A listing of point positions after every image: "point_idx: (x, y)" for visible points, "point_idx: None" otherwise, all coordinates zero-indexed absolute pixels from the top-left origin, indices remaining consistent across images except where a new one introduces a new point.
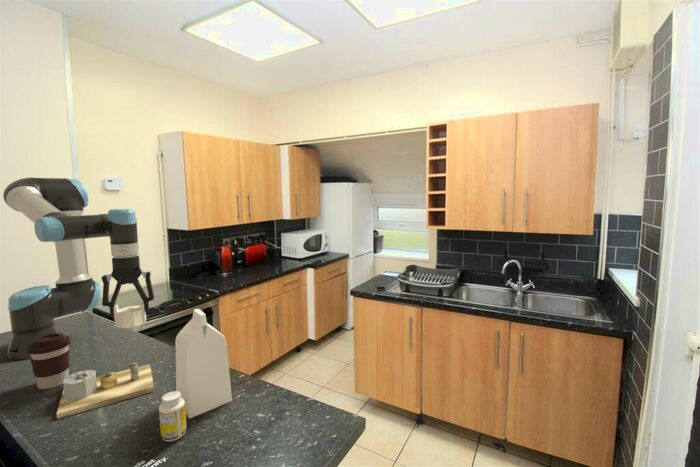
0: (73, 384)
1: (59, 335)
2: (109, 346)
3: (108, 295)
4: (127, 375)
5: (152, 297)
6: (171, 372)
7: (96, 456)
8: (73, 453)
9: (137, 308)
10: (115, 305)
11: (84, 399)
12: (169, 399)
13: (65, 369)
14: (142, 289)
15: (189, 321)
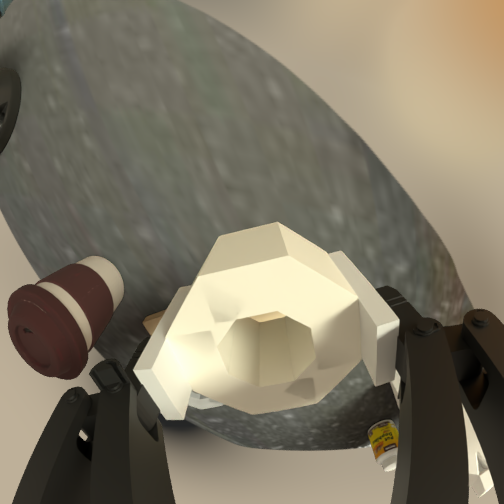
0: (204, 407)
1: (44, 345)
2: (118, 74)
3: (69, 456)
4: (275, 311)
5: (476, 381)
6: (374, 285)
7: (303, 447)
8: (274, 444)
9: (325, 339)
10: (145, 383)
11: None
12: (391, 469)
13: (112, 305)
14: (453, 463)
15: (471, 474)
